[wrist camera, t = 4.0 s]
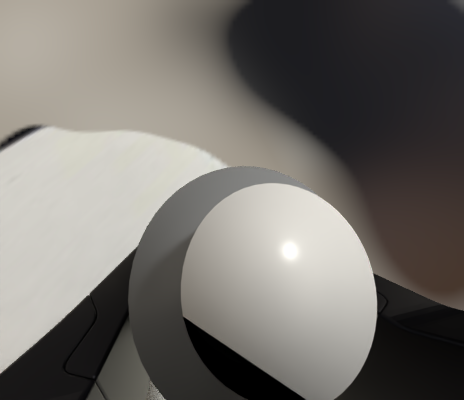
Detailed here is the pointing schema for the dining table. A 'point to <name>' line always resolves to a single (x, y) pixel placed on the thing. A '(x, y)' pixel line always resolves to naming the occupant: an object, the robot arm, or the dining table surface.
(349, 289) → the white rounded cylinder
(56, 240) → the dining table surface
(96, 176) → the dining table surface
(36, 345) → the robot arm
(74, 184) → the dining table surface
